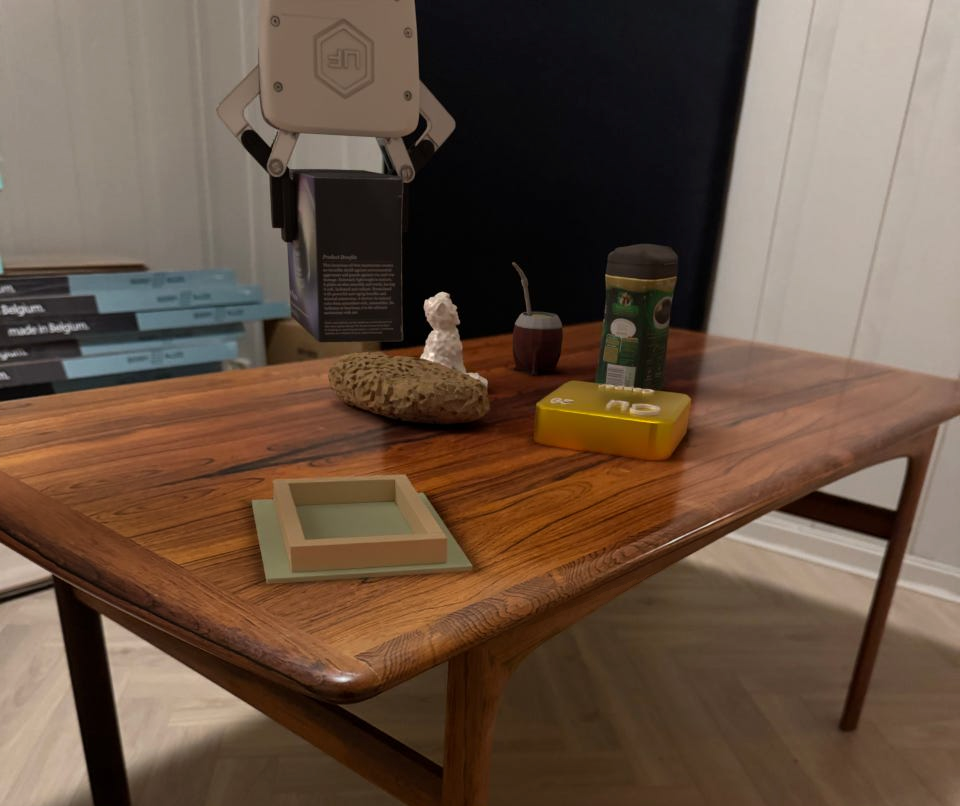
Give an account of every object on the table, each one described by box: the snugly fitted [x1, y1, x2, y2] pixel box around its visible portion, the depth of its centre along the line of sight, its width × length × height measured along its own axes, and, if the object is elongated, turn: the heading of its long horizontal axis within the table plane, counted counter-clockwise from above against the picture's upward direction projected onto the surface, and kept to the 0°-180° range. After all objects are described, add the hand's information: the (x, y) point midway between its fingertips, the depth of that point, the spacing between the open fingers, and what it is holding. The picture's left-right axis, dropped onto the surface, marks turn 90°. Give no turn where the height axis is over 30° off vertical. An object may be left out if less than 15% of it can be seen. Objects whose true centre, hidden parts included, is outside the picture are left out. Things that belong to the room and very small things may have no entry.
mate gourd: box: [511, 261, 564, 377], centre depth 133 cm, size 8×8×15 cm
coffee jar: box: [594, 243, 679, 391], centre depth 123 cm, size 10×8×19 cm
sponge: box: [327, 351, 491, 426], centre depth 109 cm, size 13×8×20 cm
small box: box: [286, 168, 404, 344], centre depth 67 cm, size 11×6×10 cm, turn 21°
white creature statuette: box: [419, 291, 489, 392], centre depth 122 cm, size 10×9×12 cm
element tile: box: [533, 380, 692, 462], centre depth 106 cm, size 15×15×5 cm
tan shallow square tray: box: [251, 474, 474, 585], centre depth 76 cm, size 15×17×3 cm
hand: (340, 239), depth 67 cm, fingers closed on small box, 6 cm apart
